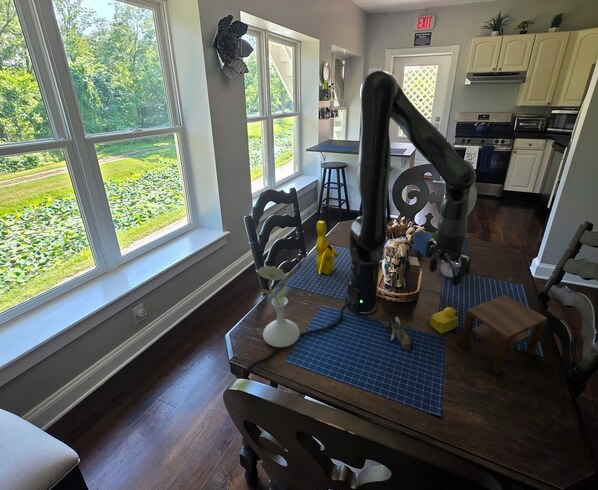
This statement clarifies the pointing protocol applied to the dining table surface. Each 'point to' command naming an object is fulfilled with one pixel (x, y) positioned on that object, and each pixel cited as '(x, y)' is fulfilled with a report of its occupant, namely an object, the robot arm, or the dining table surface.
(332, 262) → the figure statuette
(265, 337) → the flower in vase
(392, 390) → the dining table surface
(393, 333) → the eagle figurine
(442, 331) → the rubber duck
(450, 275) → the decorative duck model
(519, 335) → the wooden side table
